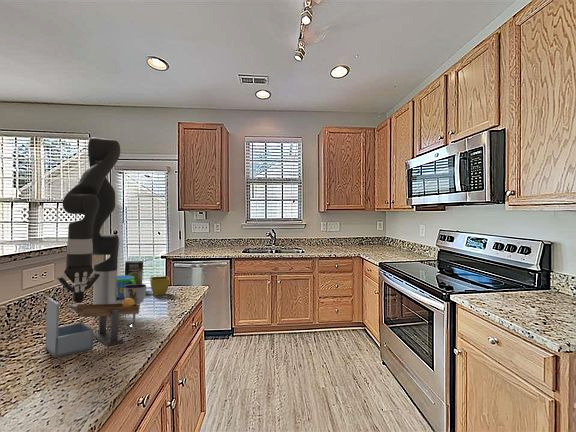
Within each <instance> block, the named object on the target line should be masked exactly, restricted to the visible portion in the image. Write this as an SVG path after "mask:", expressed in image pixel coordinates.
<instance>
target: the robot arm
mask: <svg viewBox="0 0 576 432" xmlns="http://www.w3.org/2000/svg"><path fill="white" fill-rule="evenodd" d="M87 154H88V155H87V156H88V164H89V165H88V167H89V168H87V169H86V170H85V171H84V172H83V174H82V175H81V177H80V178H79V179H80V180H79V181H78V183H77V184H76V185H75V186H74V187H72V188H71V189H70V190H69V191H68V192H67V193H66V194H65V196H64V197H63V200H62V208H63V210H64V212H66V213H67V214H71V215H84V216H83V218H82V219H80V220H74V221H71V222H69V224H68V230H67V233H68V234H67V244H66V257H65V258H66V260H65V261H66V262H65V263H66V264H65V270H64V271H63V274H61V275H60V276H57V277H56V280H57V281H58V282H59V283H60V284H61V285H62V286H63V287H64V288H65V290H66V291H69V292H71V293H72V301H73V302H74V304H81V303H82V302H83V301H84V298H85V297H84V296H85V291H86V290H90V288H91V287H92V286H93V287H92V288H93V290H92V291H93V293H92V304H105V303H106V304H114V303H117V298H116V297H117V276H118V257H119V246H120V238H119V236H118V234H116V233H115V234H114V233H100V232H101V229H102V228H103V225H104V224H105V222H106V220H107V219H108V218H109V217H110V216H111V214H112V213H113V212H114V210H115V208H116V192H115V188H114V187H113V186H112V184H111V182H110V181H109V180H108V178H107V176H108V175H109V173H110V172H111V171H112V170H113V168H114V167H115V165H116V164H117V162H118V160H119V159H120V156H121V145H120V143H119V141H118V140H115V139H112V138H103V137H93V136H92V137H90V138H89V140H88V144H87ZM93 255H94V256H95V255H97V256H102V255H104V256H109V257H108V258H106V259H105V260H102V261H99V262H96V263H95V264H94V265H93ZM67 280H69V281H70V282H71V284H69V283H68V282H67ZM87 280H88V281H87Z"/></svg>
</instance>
